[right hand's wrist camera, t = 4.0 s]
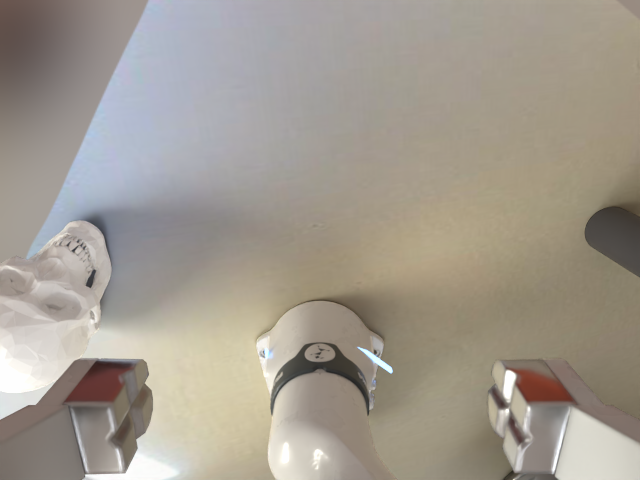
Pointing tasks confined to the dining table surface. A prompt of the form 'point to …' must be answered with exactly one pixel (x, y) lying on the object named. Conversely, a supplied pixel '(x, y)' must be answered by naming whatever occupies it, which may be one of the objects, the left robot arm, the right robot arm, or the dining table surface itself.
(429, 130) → the dining table surface
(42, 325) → the skull
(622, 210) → the bottle
